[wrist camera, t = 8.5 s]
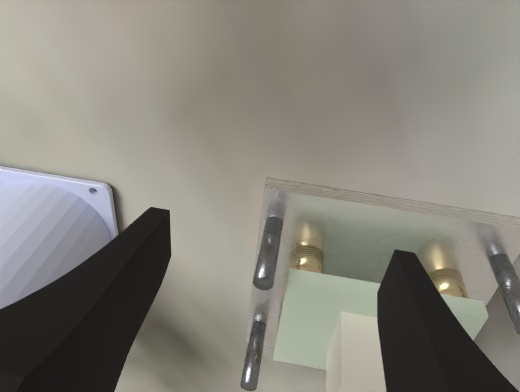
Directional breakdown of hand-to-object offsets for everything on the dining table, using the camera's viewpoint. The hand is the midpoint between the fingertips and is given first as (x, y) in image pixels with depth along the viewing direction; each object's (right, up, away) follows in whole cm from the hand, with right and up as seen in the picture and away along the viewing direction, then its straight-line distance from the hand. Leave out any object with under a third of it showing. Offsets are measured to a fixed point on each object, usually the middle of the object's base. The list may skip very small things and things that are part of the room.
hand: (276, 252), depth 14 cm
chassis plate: (+6, -4, +14) cm, 15 cm away
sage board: (+6, -6, +11) cm, 13 cm away
